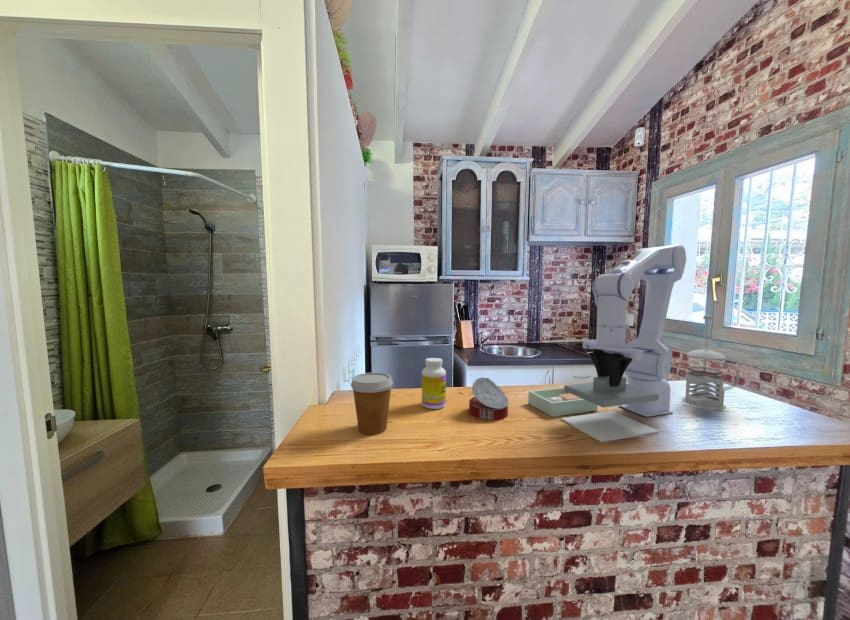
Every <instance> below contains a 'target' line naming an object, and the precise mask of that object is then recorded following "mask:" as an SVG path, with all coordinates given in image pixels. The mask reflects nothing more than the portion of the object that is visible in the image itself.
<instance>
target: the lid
mask: <svg viewBox="0 0 850 620" xmlns="http://www.w3.org/2000/svg"><path fill="white" fill-rule="evenodd" d="M592 379H593V382H583V383H582V382H581V383H574V384H573V383H571V384H564V391H566V392H568V393H570V394H573V395H575V396H577V397H580V398H582V399H584V400H587V401H589V402H591V403H594V404H596V405H597V407H598V406H599V407H601V408H610V407H617V406H618V407H620V406H619V405H626V404H634V403H641V402H649V401H657V400H658V399H659V394H657V393H654V392H651V391H647V390H644V389H641V388H638V387H635V386H632V385H628V383H627V377H625V376H622V379H621V382H620V385H619V386H616V387H611V386H610V384H609V376H603V377H598V376H596V377H593V378H592Z"/></svg>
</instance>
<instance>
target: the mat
mask: <svg viewBox="0 0 850 620" xmlns="http://www.w3.org/2000/svg"><path fill="white" fill-rule="evenodd" d="M560 420H561V421H562V422H564V423H565V424H566V423H567V424H568V425H570V426H572V427H573V428H575V429H576V430H579V431H580V432H582V433H584V434H585V435H587V436H589V437H591V438H593V439H594V440H596V441H598V442H600V443H605V442H611V441H617V440H623V439H627V438H630V439H631V438H635V437H640V436H645V435H646V436H647V435H653V434H658V433H660V430H658V429H656V428H653V427H652V426H649V425H647V424H644V423H642V422H639V421H638V420H634V419H632V418H630V417H628V416H625V415H623V414H621V413H619V412H616V411H614V410H610V411H603V412H595V413H588V414H582V415H575V416H573V415H572V416H566V417H561V418H560Z"/></svg>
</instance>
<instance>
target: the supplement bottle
mask: <svg viewBox="0 0 850 620" xmlns="http://www.w3.org/2000/svg"><path fill="white" fill-rule="evenodd" d="M424 364H425V367H424V368H423V369H422V371H421V405H422V406H423V408H426V409H429V410H440V409H443V408H444V407H445V406H446V405H447V371H446V369H444V367H442V365H443V359H442V358H438V357H429V358H425V363H424Z"/></svg>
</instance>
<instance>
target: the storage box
mask: <svg viewBox="0 0 850 620" xmlns="http://www.w3.org/2000/svg"><path fill="white" fill-rule="evenodd" d="M527 395H528V402H527V403H528V405H530V404H531V405H530V406H532V407H534V408H536V409H537V408H538V410H539V409H540V410H539V411H541V412H543V413H544V414H547V415H548V416H550V417H552V418H554V417H561V416H562V417H563V416H569V415H575V414H583V413H584V412H585V413H591V412H590V411H593V412H598V405H596V404H594V403H591V402H589V401H587V400H584V399H582V398H580V397H577V396H575V395H573V394H570V393H568V392H566V391H564V387H554V388H553V387H552V388H546V389H545V388H544V389H535V390H528V394H527Z"/></svg>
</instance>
